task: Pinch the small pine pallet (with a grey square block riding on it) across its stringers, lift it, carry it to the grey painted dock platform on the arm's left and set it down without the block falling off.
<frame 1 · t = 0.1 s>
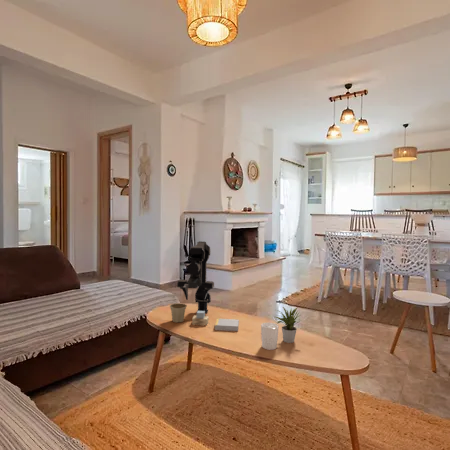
hand: (195, 300, 171), 14 cm above the table, fingers open, 9 cm apart
pallet: (200, 323, 178), on the table, touching grey square block
grey square block: (200, 317, 178), point 3 cm above the table, touching pallet
house plant: (288, 340, 157), on the table
dock: (227, 326, 173), on the table
white cup: (269, 347, 148), on the table
flower pot: (177, 321, 181), on the table
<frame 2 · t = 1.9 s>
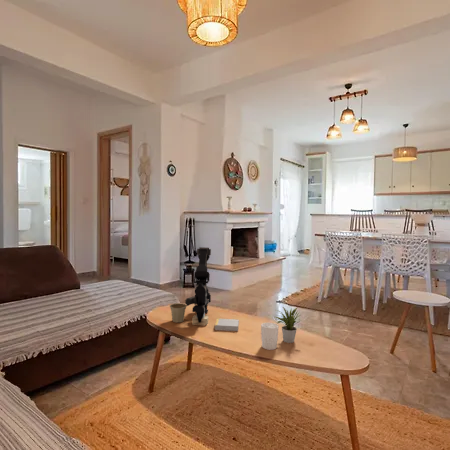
hand: (200, 320, 178), 2 cm above the table, fingers closed on pallet, 6 cm apart
pallet: (200, 323, 178), on the table, touching grey square block, gripper
everything else where it was.
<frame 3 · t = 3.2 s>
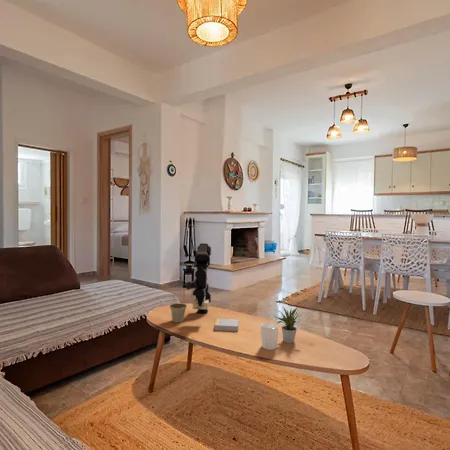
hand: (200, 304, 177), 10 cm above the table, fingers closed on pallet, 6 cm apart
pallet: (200, 307, 178), point 9 cm above the table, touching grey square block, gripper
grey square block: (201, 301, 177), point 12 cm above the table, touching pallet
everything else where it was.
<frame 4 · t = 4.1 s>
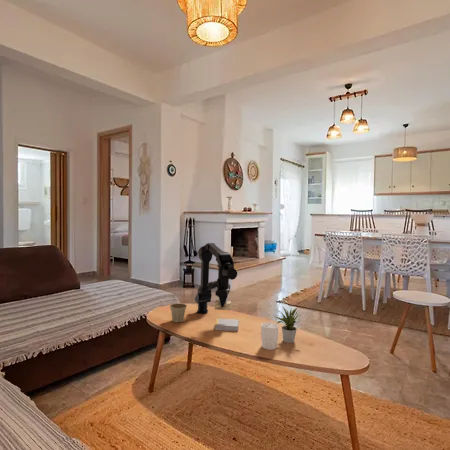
hand: (222, 305, 173), 11 cm above the table, fingers closed on pallet, 6 cm apart
pallet: (222, 308, 173), point 10 cm above the table, touching grey square block, gripper
grey square block: (223, 301, 173), point 13 cm above the table, touching pallet
everything else where it was.
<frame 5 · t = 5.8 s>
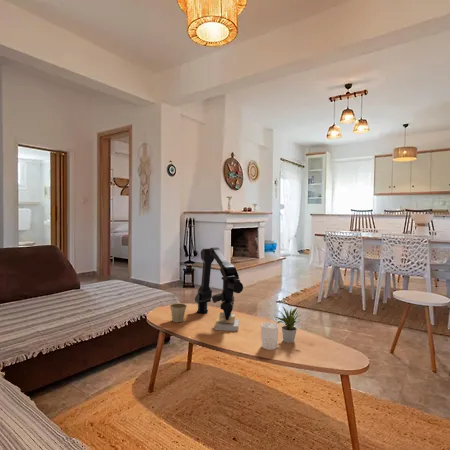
hand: (227, 318, 173), 5 cm above the table, fingers closed on pallet, 6 cm apart
pallet: (227, 320, 173), point 3 cm above the table, touching grey square block, gripper
grey square block: (227, 314, 173), point 7 cm above the table, touching pallet
everything else where it was.
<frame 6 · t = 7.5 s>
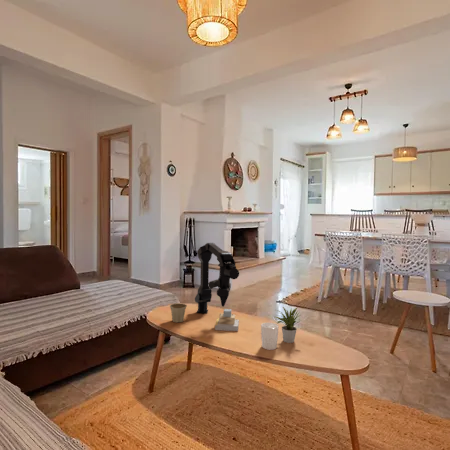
hand: (223, 303, 176), 11 cm above the table, fingers open, 9 cm apart
pallet: (227, 322, 173), point 2 cm above the table, touching grey square block, dock
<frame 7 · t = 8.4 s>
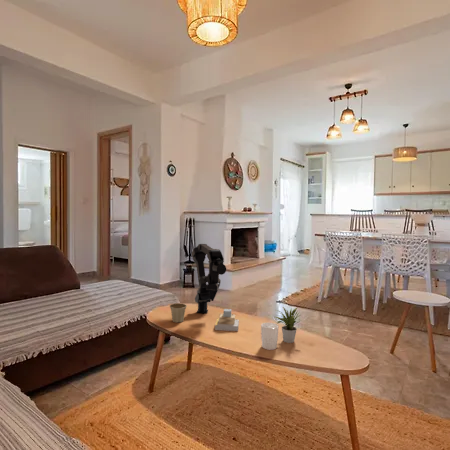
hand: (213, 298, 184), 12 cm above the table, fingers open, 9 cm apart
nothing on the table moved.
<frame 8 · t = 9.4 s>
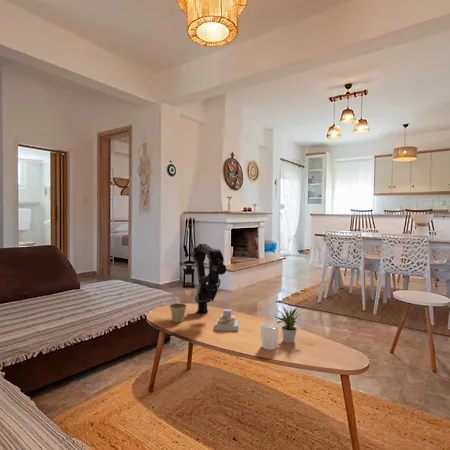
hand: (213, 298, 184), 12 cm above the table, fingers open, 9 cm apart
nothing on the table moved.
at the end: pallet inside the target area on the dock (0.1 cm from its centre), point 2.5 cm above the dock's base; grey square block 0.1 cm off-centre on the pallet, point 3.5 cm above the pallet's base; pallet tilted 0° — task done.
